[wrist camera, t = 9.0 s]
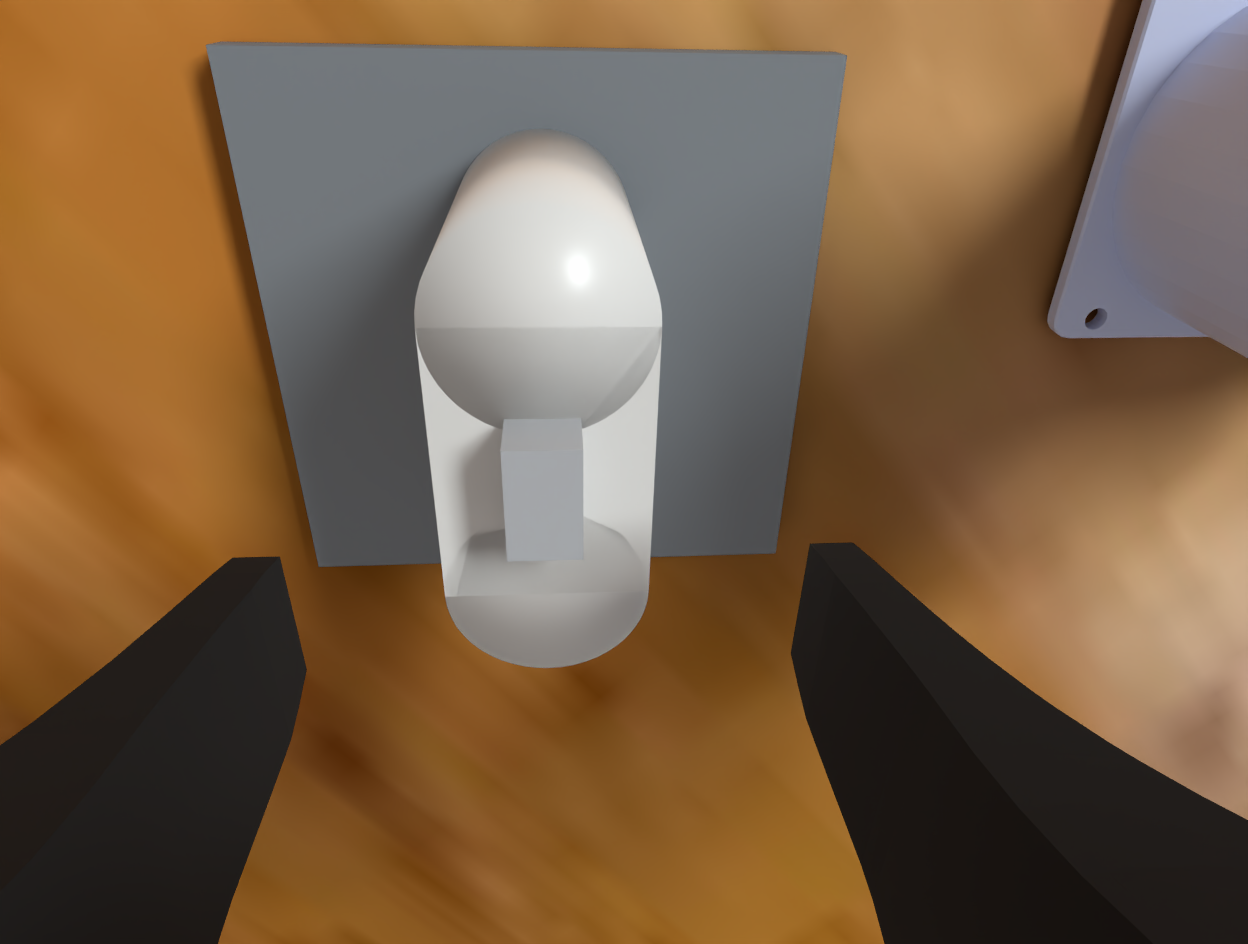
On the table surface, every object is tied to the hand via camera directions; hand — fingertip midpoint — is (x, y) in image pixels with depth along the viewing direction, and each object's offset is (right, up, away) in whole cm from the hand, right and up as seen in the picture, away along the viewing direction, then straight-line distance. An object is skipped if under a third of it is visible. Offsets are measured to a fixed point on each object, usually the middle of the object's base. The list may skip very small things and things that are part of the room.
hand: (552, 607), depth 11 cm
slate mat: (-1, +5, +8) cm, 9 cm away
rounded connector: (-1, +5, +7) cm, 9 cm away
